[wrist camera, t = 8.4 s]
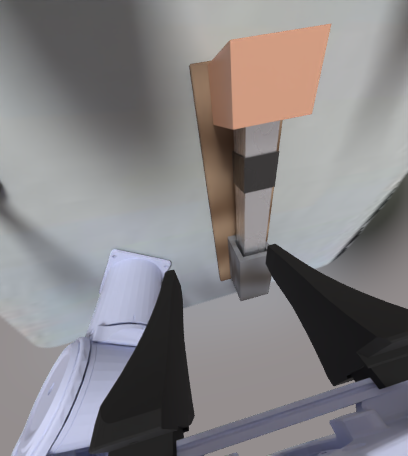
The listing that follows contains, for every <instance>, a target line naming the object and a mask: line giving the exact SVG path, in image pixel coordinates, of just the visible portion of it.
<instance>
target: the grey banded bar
mask: <svg viewBox="0 0 408 456" xmlns="http://www.w3.org/2000/svg"><path fill="white" fill-rule="evenodd" d="M279 125H280V120H279V121H274V122H269V123H264V124H259V125H254V126H249V127H244V128H239V129H234V151H232V163H233V183H234V184H235V196H236V229H237V247H238V249H239V251H240V252H241V254H242V256H243V257H246V256H250V255H254V254H258V253H262V252H264V251H265V243H266V234H267V226H268V217H269V209H270V201H271V192H272V187H275V180H276V172H277V164H278V157H279V151H277V142H278V134H279Z"/></svg>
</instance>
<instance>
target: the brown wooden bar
mask: <svg viewBox="0 0 408 456" xmlns="http://www.w3.org/2000/svg"><path fill="white" fill-rule="evenodd" d="M210 62H211V61H207V62H201V63H195V64H190V66H189V67H190V74H191V81H192V88H193V95H194V102H195V109H196V116H197V123H198V130H199V136H200V143H201V150H202V157H203V164H204V171H205V178H206V185H207V192H208V199H209V206H210V212H211V219H212V226H213V233H214V240H215V247H216V254H217V261H218V268H219V275H220V280H221V281H224V280H228V279H231V278H232V281H233V283H234V286H235V288H236V291H237V293H238V296H239V298H240V300H241V301H243V300H247V299H250V298H254V297H258V296H261V295H265V294H268V292H269V286H270V281H271V274H270V272H269V270H268V268H267V266H266V264H265V262H266V255H267V247H268V246H269V244H268V243H267V238H268V230H269V222H270V214H271V207H272V199H273V191H274V187H272V192H271V201H270V209H269V217H268V226H267V234H266V243H265V251H264V252H262V253H258V254H254V255H250V256H246V257H243V256H242V254H241V252H240V251H239V249H238V247H237V229H236V196H235V184H234V183H233V163H232V151H234V130H232V129H228V128H224V127H220V126H216V125H213V116H212V105H211V94H210V84H209V73H208V64H209V63H210ZM281 128H282V120H280V125H279V134H278V142H277V151H279V143H280V136H281Z"/></svg>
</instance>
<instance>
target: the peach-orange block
mask: <svg viewBox="0 0 408 456" xmlns="http://www.w3.org/2000/svg"><path fill="white" fill-rule="evenodd" d="M330 27H331V24H326V25H320V26H314V27H308V28H301V29H295V30H289V31H283V32H277V33H270V34H264V35H258V36H252V37H245V38H239V39H233V40H230V41H229V42H228V43H227V44H226V45H225V46H224V47H223V49H222V50H221V51H220V52H219V53H218V54H217V55H216V56H215V58H214V59H213V60H212V61H211V62H210V63H209V64H208V73H209V84H210V94H211V105H212V116H213V125H216V126H220V127H224V128H228V129H232V130H234V129H239V128H244V127H249V126H254V125H259V124H264V123H269V122H274V121H279V120H284V119H289V118H294V117H299V116H304V115H309V114H312V111H313V106H314V101H315V97H316V92H317V87H318V83H319V78H320V74H321V69H322V64H323V60H324V55H325V50H326V46H327V41H328V37H329V32H330Z"/></svg>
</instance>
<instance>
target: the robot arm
mask: <svg viewBox="0 0 408 456" xmlns="http://www.w3.org/2000/svg"><path fill="white" fill-rule="evenodd" d="M113 255H115V256H113ZM265 264H266V266H267V268H268V270H269V272H270V274H271V275H272V277H273V278H274V280H275V281H276V283H277V284H278V286H279V287H280V289H281V290H282V292H283V293H284V294H285V296H286V298H287V299H288V301H289V302H290V304H291V305H292V307H293V309H294V310H295V312H296V314H297V316H298V318H299V319H300V321H301V323H302V325H303V327H304V329H305V331H306V333H307V334H308V337H309V339H310V341H311V342H312V345H313V347H314V349H315V351H316V353H317V355H318V357H319V359H320V361H321V364H322V365H323V368H324V370H325V372H326V375H327V377H328V379H329V380H330V382H331V383H332V385H333V386H336V385H339V384H343V383H345V382H349V381H352V380H355V383H351V384H348V385H346V386H342V387H339V388H337V389H333V390H330V391H327V392H324V393H321V394H318V395H315V396H312V397H309V398H306V399H303V400H299V401H297V402H294V403H291V404H287V405H284V406H281V407H278V408H275V409H273V410H269V411H266V412H263V413H260V414H257V415H254V416H251V417H248V418H244V419H241V420H238V421H235V422H232V423H229V424H226V425H223V426H220V427H217V428H214V429H211V430H208V431H205V432H202V433H199V434H196V435H192V436H190V437H187V438H184V435H183V432H187V431H189V425H191V423H192V421H193V418H194V409H193V403H192V396H191V389H190V382H189V375H188V367H187V359H186V351H185V342H184V330H183V329H184V328H183V299H182V291H181V285H180V283H179V280H178V278H177V275H176V273H175V271H174V270H170V271H167V270H168V268H169V267H170V265H171V262H170V261H169V260H164V259H160V258H155V257H150V256H145V255H141V254H136V253H131V252H126V251H122V250H117V249H114V250H112V251H111V253H110V257H109V260H108V264H107V267H106V270H105V274H104V277H103V280H102V284H101V287H100V290H99V294H100V297H99V299H98V302H97V305H96V308H95V311H94V313H93V316H92V319H91V322H90V325H89V327H88V330H87V333H86V336H85V337H79V338H78V339H76V340H75V341H74V342H73V343H71V344H70V345H68V346H67V347H66V348H65V349H64V350H63V352H62V353H61V355H60V356H59V357H58V359H57V361H56V362H55V364H54V365H53V367H52V369H51V371H50V372H49V375H48V376H47V378H46V380H45V382H44V384H43V386H42V388H41V390H40V392H39V394H38V396H37V398H36V401H35V403H34V405H33V408H32V410H31V412H30V415H29V417H28V420H27V423H26V425H25V428H24V430H23V432H22V434H21V436H20V438H19V440H18V442H17V444H16V446H15V448H14V450H13V452H12V454H11V456H204V455H205V454H208V453H211V452H214V451H217V450H219V449H223V448H226V447H229V446H232V445H234V444H238V443H240V442H244V441H246V440H249V439H252V438H255V437H258V436H261V435H264V434H267V433H270V432H273V431H276V430H279V429H282V428H285V427H288V426H291V425H294V424H297V423H300V422H303V421H306V420H309V419H312V418H315V417H317V416H320V415H323V414H326V413H329V412H333V411H335V410H338V409H341V408H344V407H347V406H350V405H353V404H356V403H357V404H356V412H354V413H350V414H346V415H343V416H340V417H338V418H335V419H333V420H330V425H331V426H332V428H333V430H334V432H335V434H332V435H329V436H326V437H322V438H319V439H316V440H312V441H309V442H306V443H303V444H299V445H296V446H293V447H290V448H287V449H284V450H281V451H278V452H275V453H273V454H270V455H267V456H408V309H406V308H403V307H400V306H397V305H394V304H391V303H388V302H385V301H383V300H380V299H378V298H375V297H372V296H370V295H367V294H365V293H362V292H360V291H358V290H355V289H353V288H351V287H349V286H346V285H344V284H342V283H340V282H338V281H336V280H334V279H332V278H330V277H328V276H326V275H324V274H322V273H320V272H318V271H317V270H315V269H314V268H312V267H310V266H308V265H307V264H305V263H304V262H302V261H300V260H299V259H297V258H296V257H294V256H293V255H291V254H290V253H288V252H287V251H285V250H284V249H282V248H281V247H279V246H278V245H276V244H273V245H269V246H268V247H267V255H266V262H265ZM166 265H167V266H166ZM163 277H164V278H163ZM162 279H163V282H162V286H161V281H162ZM226 456H238V453H232V454H229V455H226Z"/></svg>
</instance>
